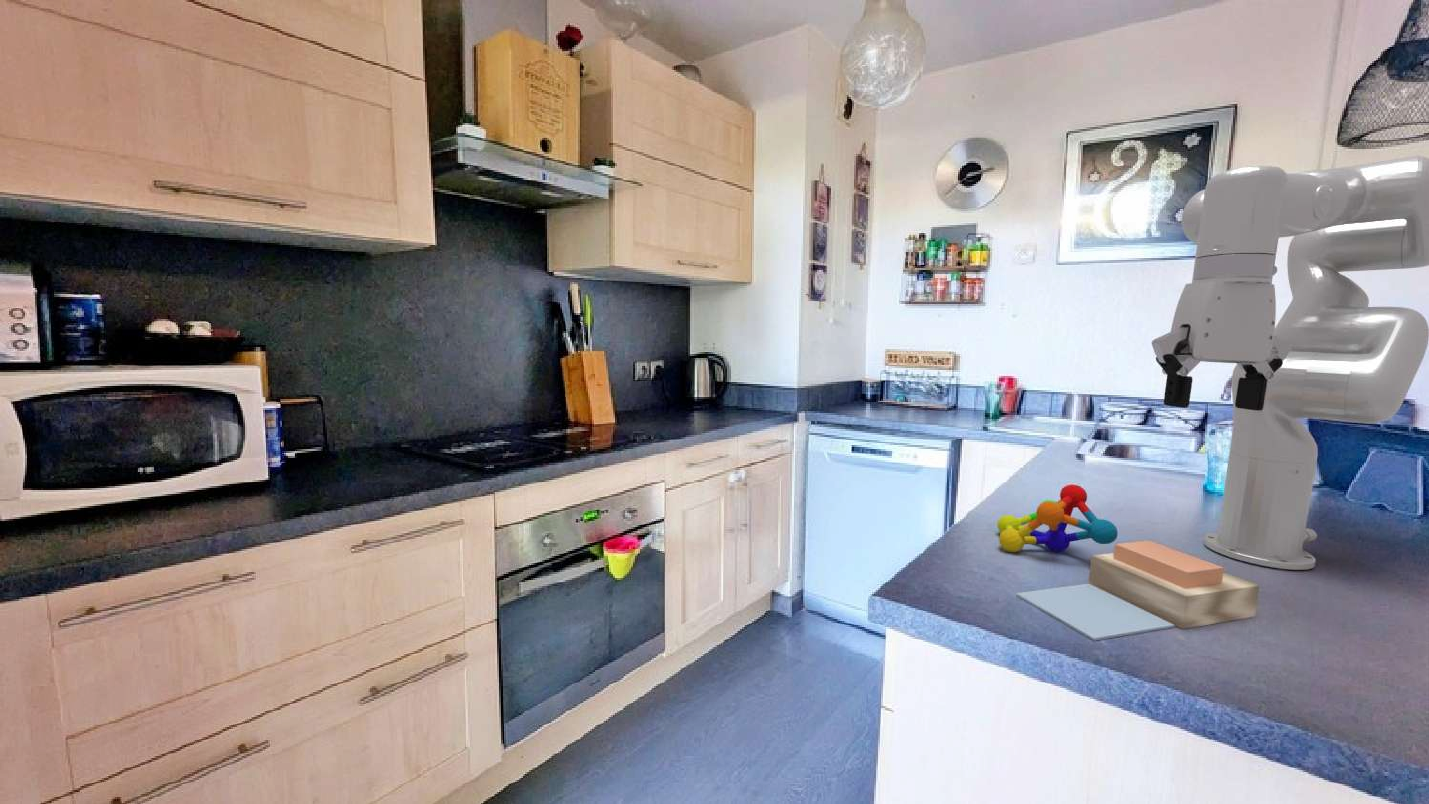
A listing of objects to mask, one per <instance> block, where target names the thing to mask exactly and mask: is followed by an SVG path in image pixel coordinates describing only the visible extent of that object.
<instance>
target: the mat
mask: <svg viewBox="0 0 1429 804" xmlns="http://www.w3.org/2000/svg"><path fill="white" fill-rule="evenodd" d="M1015 596H1016V597H1018V598H1020V599H1022V600H1023V601H1024V602H1026V603H1028V604H1029V605H1031V606H1033V607H1035V608H1037V609H1038V610H1040V611H1042V612H1044V613H1045V614H1047V615H1049V616H1050V617H1052V618H1054V619H1056V620H1057V621H1059V622H1060V623H1062V624H1064V625H1066V626H1068V627H1069V628H1072V630H1074V631H1076V632H1078V633H1080V634H1081V635H1082V636H1084V637H1086V638H1088V639H1090V640H1091V641H1094V642H1095V641H1101V640H1107V639H1113V638H1119V637H1124V636H1125V637H1126V636H1131V635H1137V634H1142V633H1148V632H1155V631H1162V630H1167V629H1172V628H1173V629H1174V628H1175V625H1174V624H1172V623H1169V622H1167V621H1165V620H1163V619H1161V618H1159V617H1157V616H1155V615H1153V614H1151V613H1149V612H1147V611H1145V610H1143V609H1141V608H1138V607H1136V606H1134V605H1132V604H1130V603H1128V602H1126V601H1124V600H1122V599H1120V598H1118V597H1116V596H1114V595H1112V594H1110V593H1107V592H1105V591H1103V590H1101V589H1099V588H1097V587H1095V586H1093V585H1091V584H1088V583H1083V584H1082V583H1081V584H1075V585H1068V586H1067V585H1066V586H1060V587H1059V586H1058V587H1054V588H1045V589H1039V590H1038V589H1037V590H1031V591H1030V590H1029V591H1023V592H1016V593H1015Z"/></svg>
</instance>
